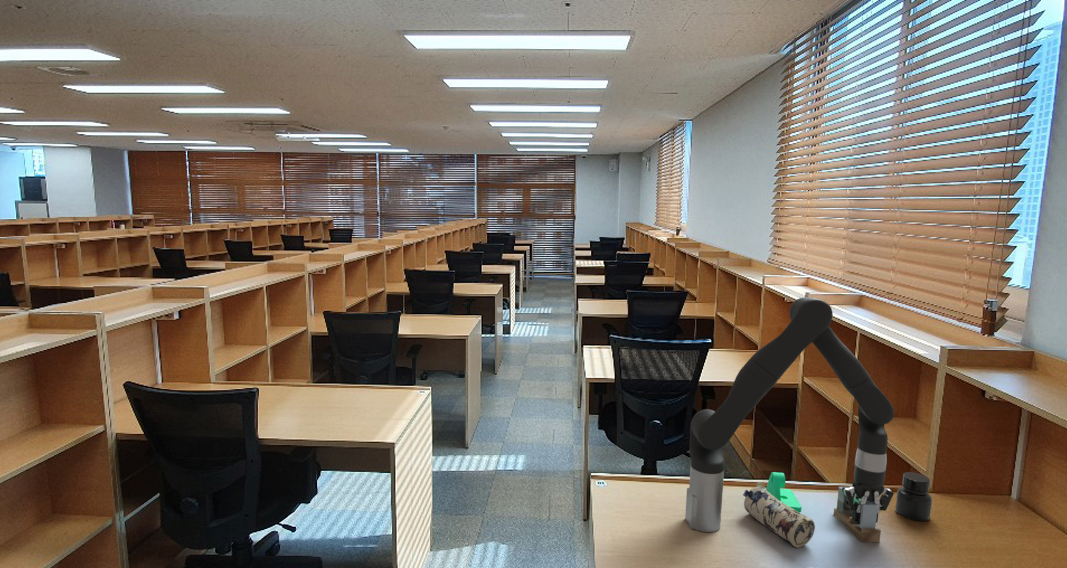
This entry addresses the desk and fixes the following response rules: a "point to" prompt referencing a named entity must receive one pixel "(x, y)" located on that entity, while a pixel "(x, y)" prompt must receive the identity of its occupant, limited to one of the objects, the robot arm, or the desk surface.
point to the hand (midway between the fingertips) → (864, 523)
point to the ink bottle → (914, 497)
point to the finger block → (868, 515)
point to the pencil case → (778, 516)
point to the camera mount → (782, 491)
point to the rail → (846, 518)
